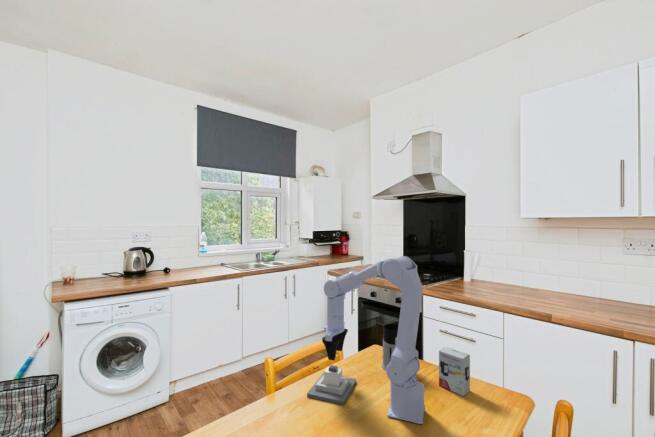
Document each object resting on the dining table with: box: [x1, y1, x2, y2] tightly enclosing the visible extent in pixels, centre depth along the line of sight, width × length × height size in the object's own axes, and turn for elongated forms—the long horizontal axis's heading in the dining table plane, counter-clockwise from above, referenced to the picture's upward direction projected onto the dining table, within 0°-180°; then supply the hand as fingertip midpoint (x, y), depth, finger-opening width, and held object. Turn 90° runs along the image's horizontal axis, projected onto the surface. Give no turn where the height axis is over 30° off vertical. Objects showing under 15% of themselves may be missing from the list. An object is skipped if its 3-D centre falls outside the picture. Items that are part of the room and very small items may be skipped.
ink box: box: [438, 346, 471, 397], centre depth 99 cm, size 9×5×12 cm, turn 42°
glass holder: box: [381, 323, 399, 372], centre depth 111 cm, size 9×14×15 cm, turn 178°
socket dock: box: [306, 372, 357, 406], centre depth 98 cm, size 12×14×2 cm
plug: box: [323, 365, 343, 388], centre depth 98 cm, size 5×4×6 cm
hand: (335, 354), depth 102 cm, fingers open, 7 cm apart
